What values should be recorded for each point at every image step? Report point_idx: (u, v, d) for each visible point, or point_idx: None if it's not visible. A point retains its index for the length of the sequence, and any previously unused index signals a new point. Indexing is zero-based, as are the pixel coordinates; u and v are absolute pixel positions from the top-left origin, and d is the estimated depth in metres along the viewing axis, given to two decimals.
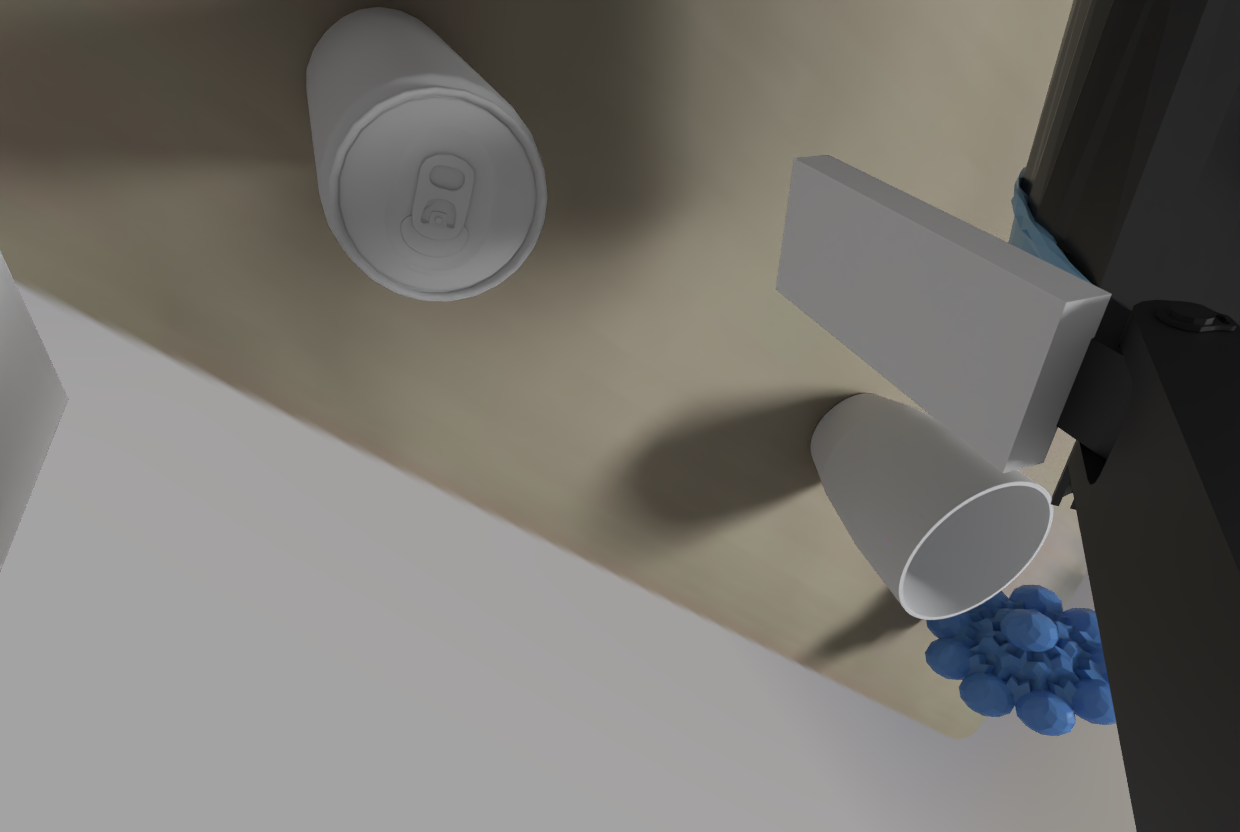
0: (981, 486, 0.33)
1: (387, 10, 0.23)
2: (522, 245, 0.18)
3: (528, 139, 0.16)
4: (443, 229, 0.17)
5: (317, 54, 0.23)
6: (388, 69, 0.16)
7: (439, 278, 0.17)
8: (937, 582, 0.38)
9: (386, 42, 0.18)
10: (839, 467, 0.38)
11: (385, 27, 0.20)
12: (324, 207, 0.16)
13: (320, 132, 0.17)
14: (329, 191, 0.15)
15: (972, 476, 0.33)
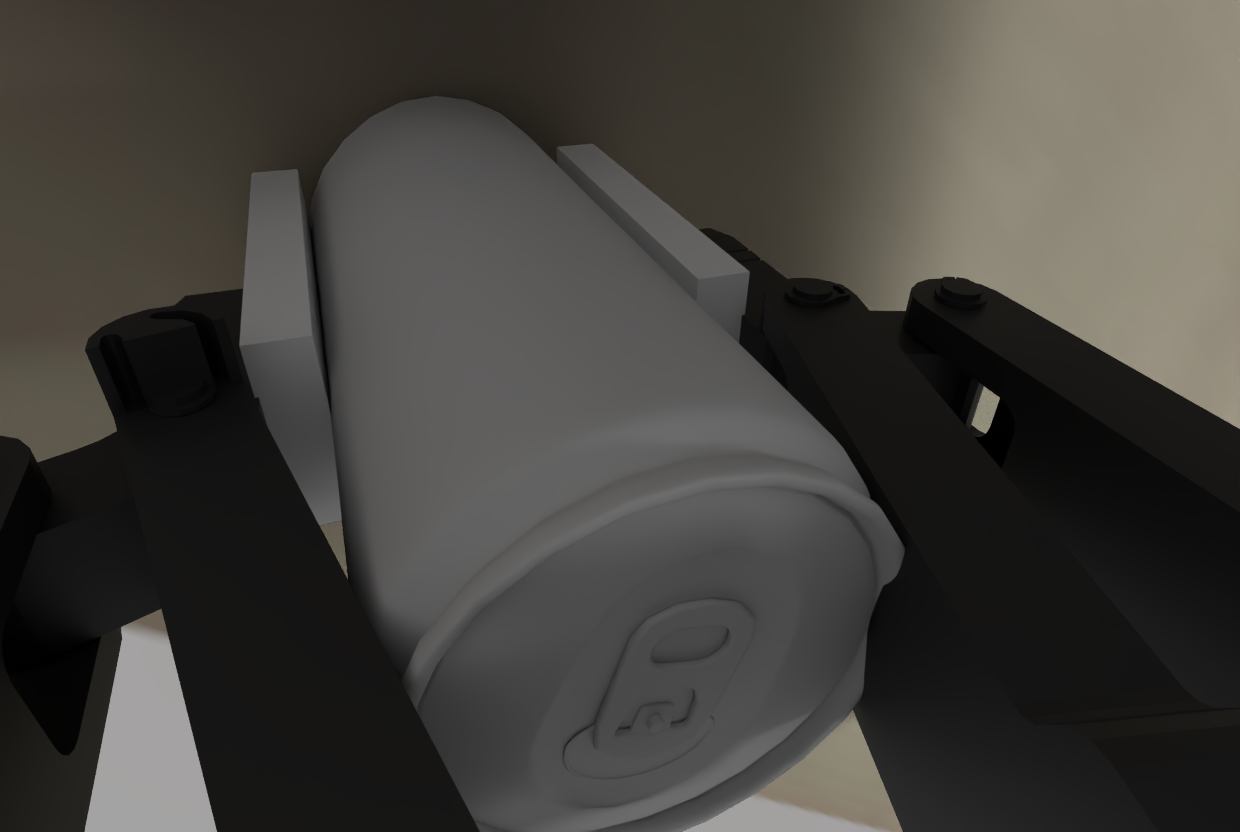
0: None
1: (452, 105, 0.13)
2: (815, 710, 0.08)
3: (898, 544, 0.06)
4: (659, 729, 0.07)
5: (332, 189, 0.13)
6: (537, 365, 0.06)
7: (635, 807, 0.07)
8: None
9: (490, 225, 0.09)
10: None
11: (468, 163, 0.11)
12: None
13: (357, 488, 0.07)
14: None
15: None
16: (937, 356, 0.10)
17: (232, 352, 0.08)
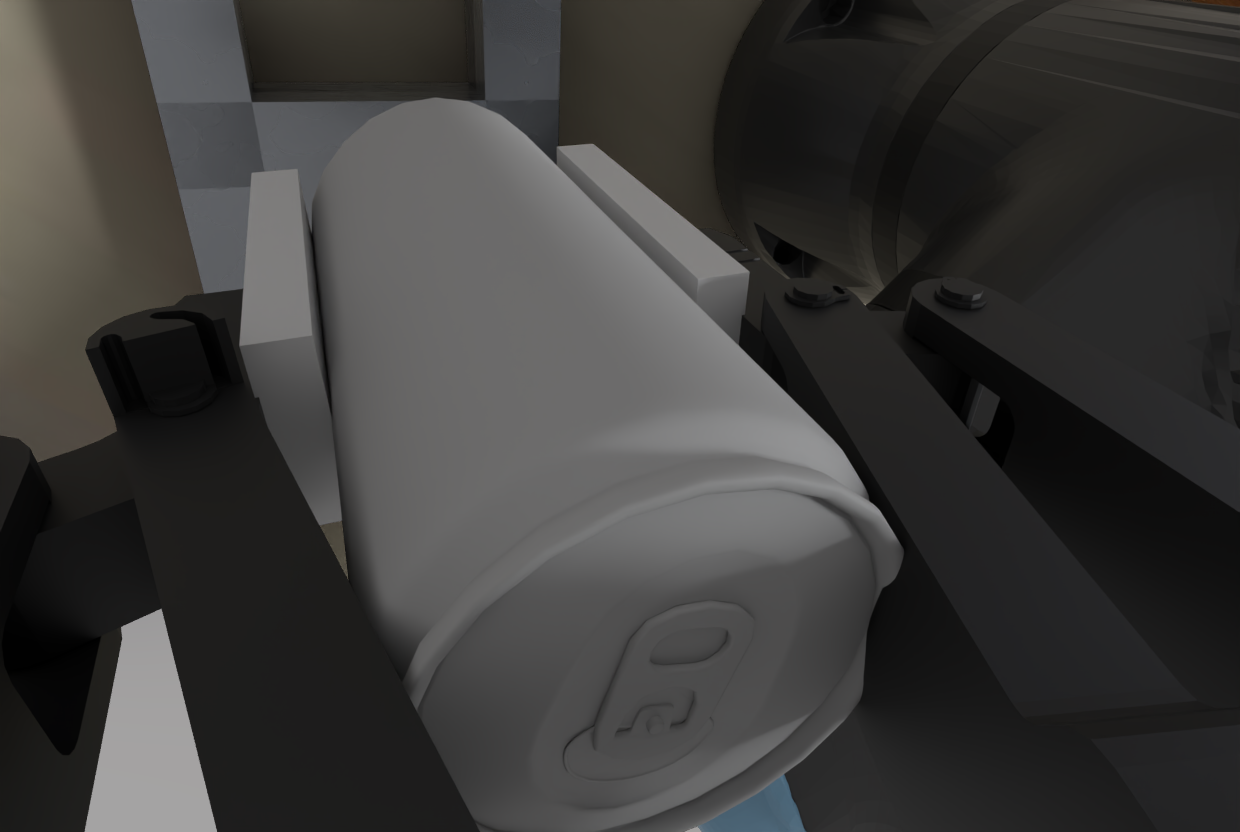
0: None
1: (452, 106, 0.13)
2: (815, 711, 0.08)
3: (898, 546, 0.06)
4: (659, 731, 0.07)
5: (332, 191, 0.13)
6: (537, 367, 0.06)
7: (635, 810, 0.07)
8: None
9: (490, 227, 0.09)
10: None
11: (468, 165, 0.11)
12: None
13: (358, 491, 0.07)
14: None
15: None
16: (936, 356, 0.10)
17: (232, 352, 0.08)
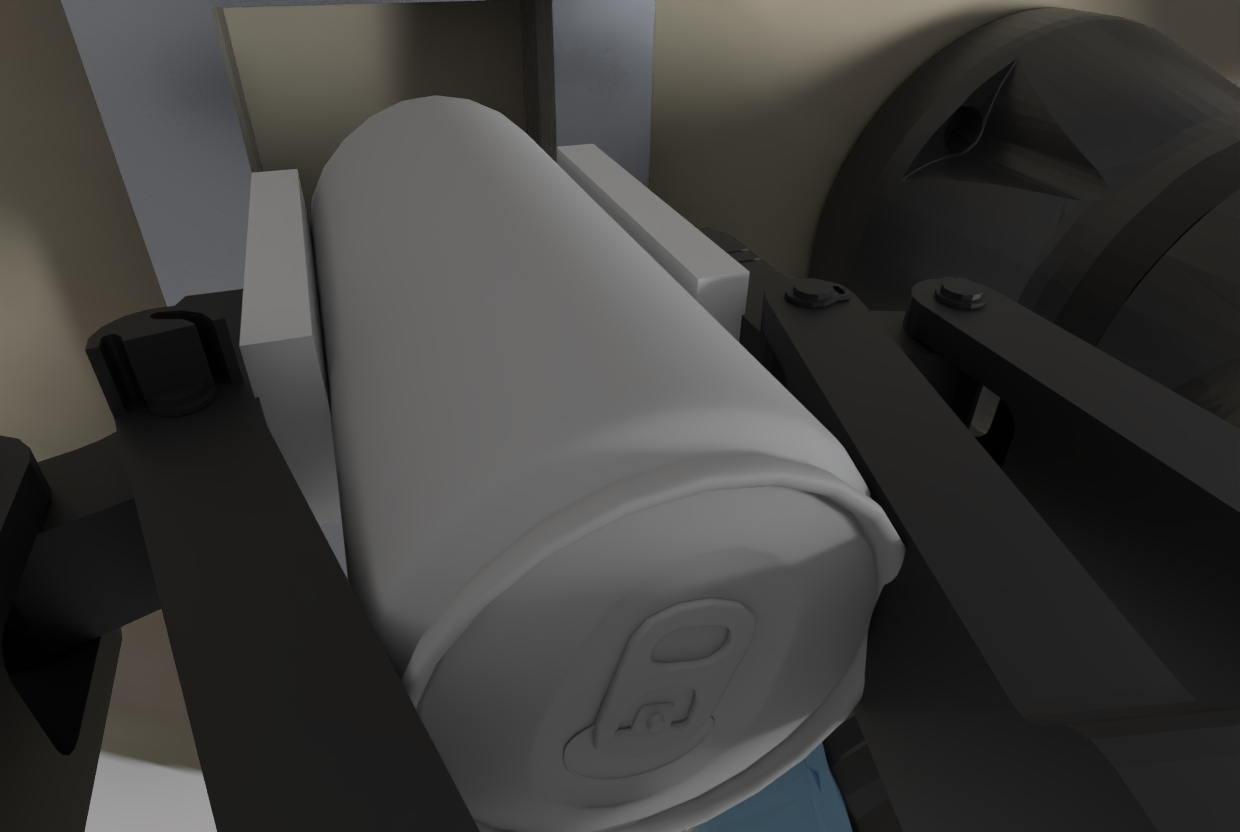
0: None
1: (452, 104, 0.13)
2: (816, 710, 0.08)
3: (899, 543, 0.06)
4: (659, 729, 0.07)
5: (332, 189, 0.13)
6: (537, 364, 0.06)
7: (635, 809, 0.07)
8: None
9: (490, 225, 0.09)
10: None
11: (468, 163, 0.11)
12: None
13: (357, 488, 0.07)
14: None
15: None
16: (937, 356, 0.10)
17: (232, 352, 0.08)
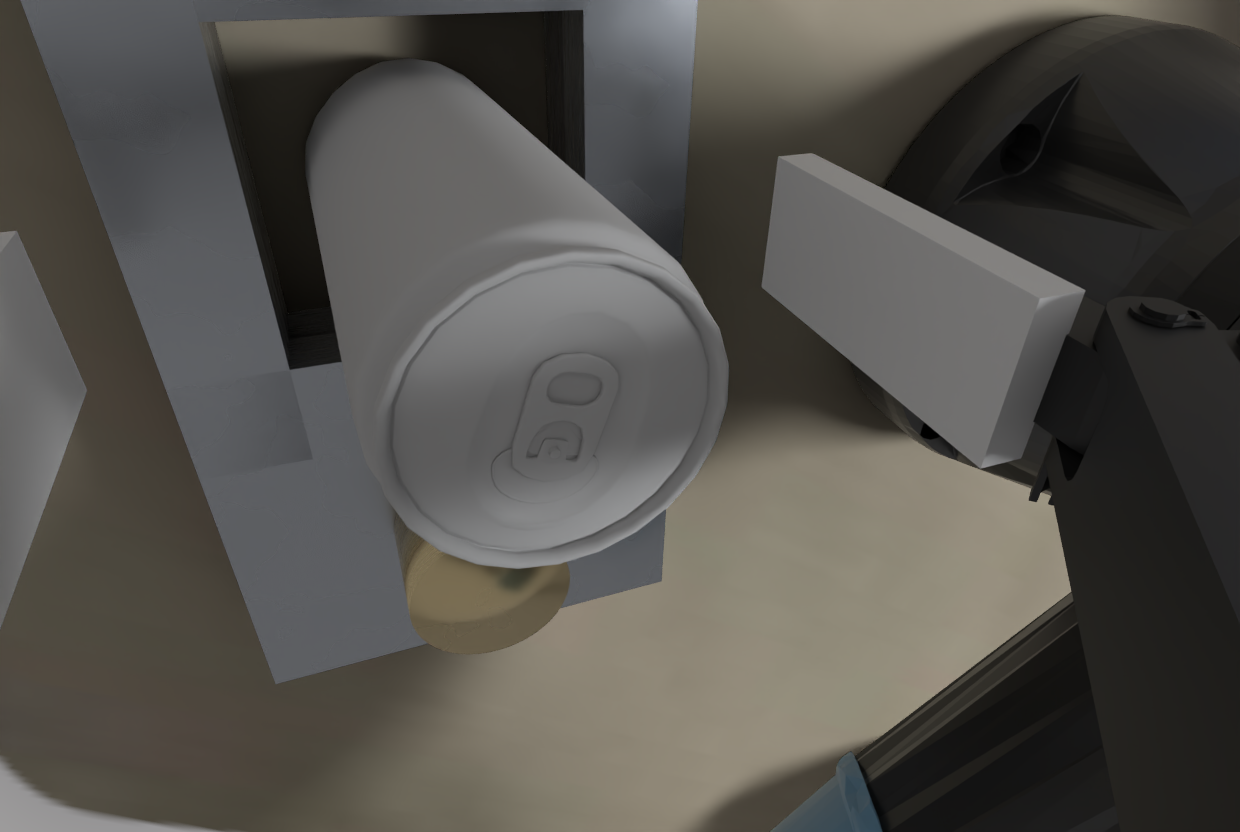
0: None
1: (422, 64, 0.17)
2: (676, 470, 0.11)
3: (713, 323, 0.09)
4: (560, 463, 0.10)
5: (324, 128, 0.16)
6: (473, 202, 0.09)
7: (546, 532, 0.10)
8: None
9: (446, 134, 0.12)
10: None
11: (433, 100, 0.14)
12: (361, 439, 0.09)
13: (350, 298, 0.10)
14: (376, 430, 0.09)
15: None
16: None
17: None
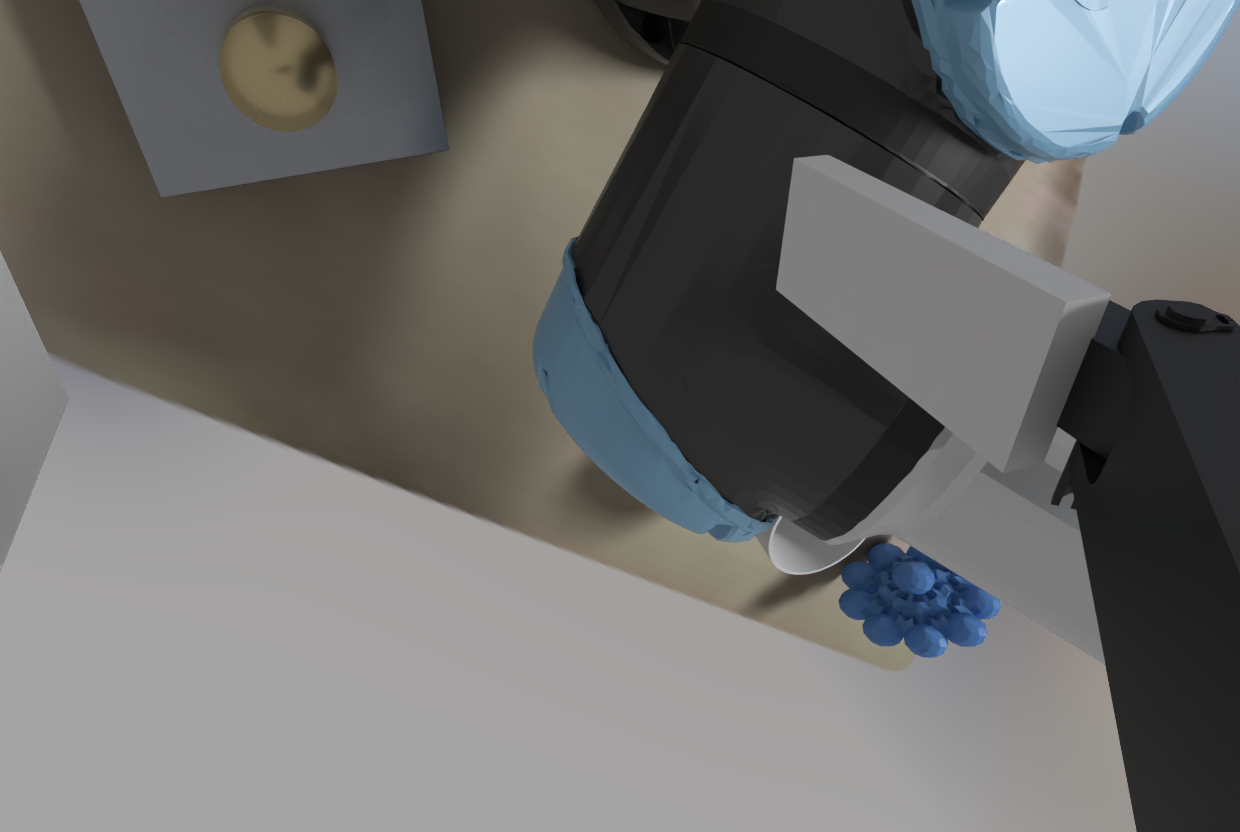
0: None
1: None
2: None
3: None
4: None
5: None
6: None
7: None
8: (810, 547, 0.52)
9: None
10: None
11: None
12: None
13: None
14: None
15: None
16: None
17: None
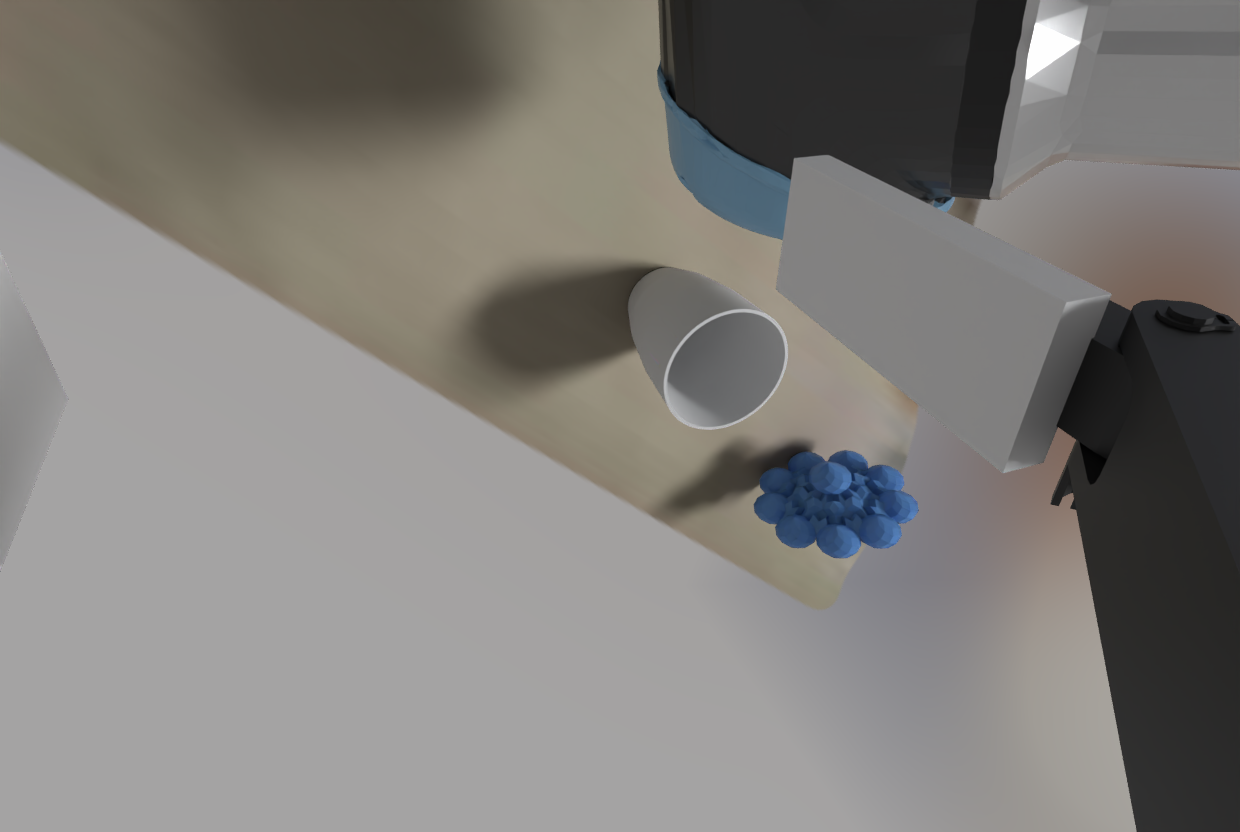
0: (717, 311, 0.44)
1: None
2: None
3: None
4: None
5: None
6: None
7: None
8: (714, 407, 0.49)
9: None
10: (637, 317, 0.49)
11: None
12: None
13: None
14: None
15: (714, 306, 0.44)
16: None
17: None
